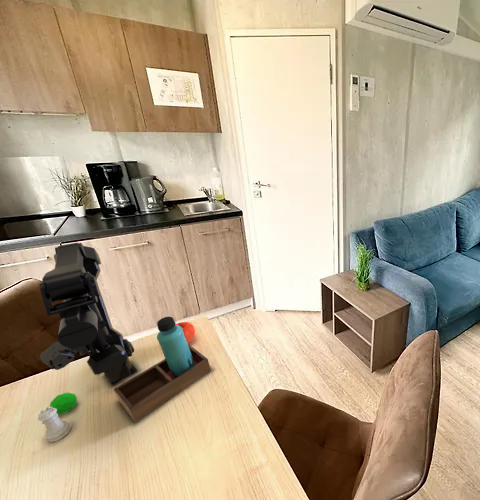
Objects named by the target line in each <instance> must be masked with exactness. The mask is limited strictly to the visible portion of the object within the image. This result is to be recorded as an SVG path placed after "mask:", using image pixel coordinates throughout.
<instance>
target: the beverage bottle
mask: <svg viewBox="0 0 480 500" xmlns="http://www.w3.org/2000/svg"><path fill="white" fill-rule="evenodd" d="M176 324H177V323H176V321H175V319H174V318H173V317H172V316H164V317H162V318H160V319H159V320H158V321H157V322H156V326H157V331H159V332H158V333H157V335H156V340H157V342H158V344H159V347H160V348H161V349H160V350H161V351H162V355H163V357H164V359H166V360H165V361H167V362H166V363H167V364H168V366H169V368H170V371H171V373H172V374H173V375H174V376H179V375H181V374H182V373H184V372H186V371H187V370H189V369H190V368H192V367H193V366H194V363H195V362H194V361H193V358H192V353H191V352H190V351H191V350H190V349H189V347H188V345H189V344H187V341H186V338H185V336H184V333H183V329H182V327H180V326H178V325H176Z"/></svg>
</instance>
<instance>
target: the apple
mask: <svg viewBox="0 0 480 500" xmlns="http://www.w3.org/2000/svg"><path fill="white" fill-rule="evenodd" d="M176 325H178V326H180V327H182V329H183V333H184V336H185V338H186V341H187V344H188V345H190V343H191V342H192V341H193V340H194V338H195V335H196V328H195V326H194V325H193V324H192V323H191V322H189V321H181V322H178V323H176Z"/></svg>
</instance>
